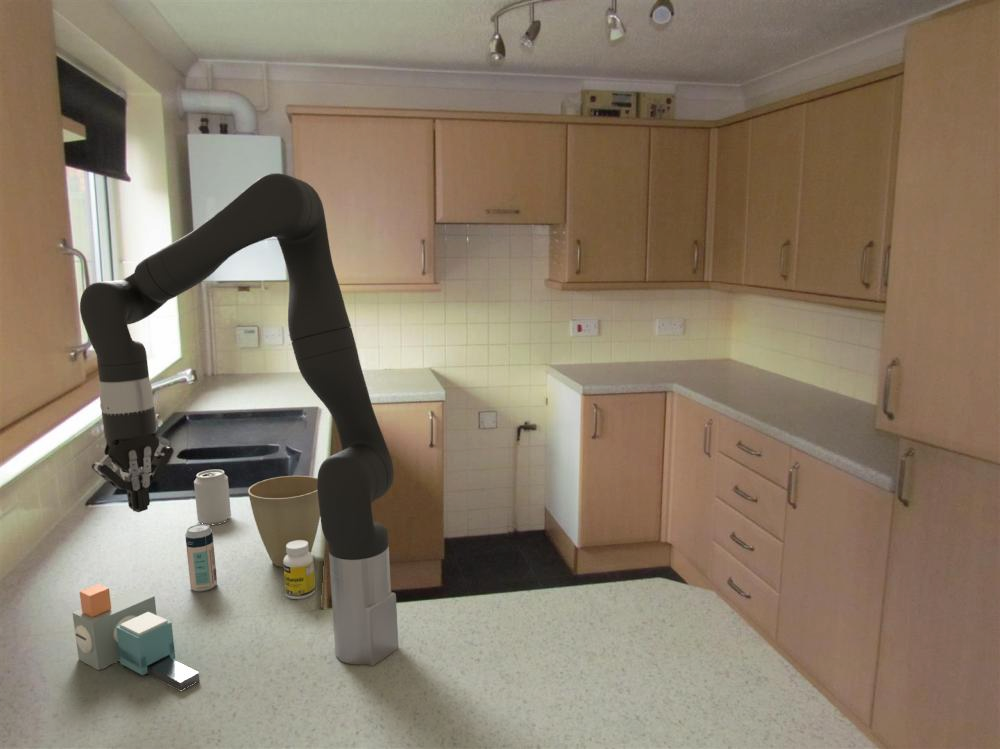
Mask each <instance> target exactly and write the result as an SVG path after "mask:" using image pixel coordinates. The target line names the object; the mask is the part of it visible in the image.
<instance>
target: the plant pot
mask: <svg viewBox="0 0 1000 749" xmlns="http://www.w3.org/2000/svg"><path fill="white" fill-rule="evenodd" d="M247 494H248V498H249V501H250V502H249V503H250V506H251V510H252V515H253V518H254V521H255V525H256V527H257V530H258V533H259V535H260V538H261V541H262V543H263V546H264V548H265V550H266V552H267V554H268V556H269V558H270V561H271V563H272V564H273V565H274V566H277V567H281V568H282V567H283V568H284V565H283V560H284V557H285V556H286V555H287V552H286V545H287V544H288V543H289V542H292V541H296V540H304V541H307V542H308V546H309V551H308V552H310V553H311V554H312V550H313V547H314V544H315V540H316V536H317V533H318V532H317V531H318V528H319V525H320V524H319V523H320V520H321V518H320V509H319V501H318V492H317V477H314V476H308V475H287V476H285V475H284V476H277V477H272V478H268V479H264V480H262V481H261V480H260V481H258V482H256V483H254V484H252V485H250V486H249V488H248V490H247Z"/></svg>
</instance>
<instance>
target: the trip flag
mask: <svg viewBox="0 0 1000 749" xmlns="http://www.w3.org/2000/svg"><path fill="white" fill-rule="evenodd" d="M110 597H111V595H110V588H109V587H107V586H104V585H102V584H100V583H97V584H95V585H91V586H89V587H87V588H85V589H81V590H79V598H80V607H81V608H80V609H82V612H83V613H85V614H87V615H89V616H91V617H94V616H96V615H99V614H101V613H103V612H106V611H108V610H110V609H111V601H110Z"/></svg>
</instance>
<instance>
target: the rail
mask: <svg viewBox="0 0 1000 749" xmlns="http://www.w3.org/2000/svg"><path fill="white" fill-rule="evenodd" d="M147 672H148V674H147V675H149V676H150V675H151V677H152V676H153V677H152V678H154V677H155V679H156V678H157V680H158V679H159V680H158V681H160V680H161V681H160V682H162V681H163V682H162V683H164V682H165V683H164V684H166V683H167V684H169V685H171V686H173V687H175V688H177V689H179V690H183V689H184V688H187V687H188V686H190V685H192V684H194V683H195V682H198V681H200V674H199V671H197V670H195V669H193V668H191V667H188V666H187V665H185V664H183V663H180V662H178V661H176V660H175V659H171V658H169V657H167V656H165V657H163V658H161V659H160V660H158V661H156V662H154V663H152V664H150V665H148V666H147ZM198 683H199V682H198ZM167 684H166V685H167ZM169 685H168V686H169ZM194 685H195V684H194ZM171 686H170V687H171ZM173 687H172V688H173ZM175 688H174V689H175ZM177 689H176V690H177ZM187 689H188V688H187ZM179 690H178V691H179Z"/></svg>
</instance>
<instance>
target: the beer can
mask: <svg viewBox="0 0 1000 749" xmlns="http://www.w3.org/2000/svg"><path fill="white" fill-rule="evenodd" d="M184 536H185V546H186V556H187V566H188V574H189V576H188V577H189V585H190V587H189V588H190V590H192V591H195V592H198V593H200V592H201V593H202V592H206V591H210V590H213V588H214V587H215V586H216V585H217V584H218V579H217V578H218V577H217V566H216V558H215V557H216V555H215V554H216V553H215V546H214V544H215V543H214V535H213V529H212V528H211V526H210V525H206V524H202V523H201V524H195V525H192V526H189V527H188V528H187V530H186V532H185V535H184Z"/></svg>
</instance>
